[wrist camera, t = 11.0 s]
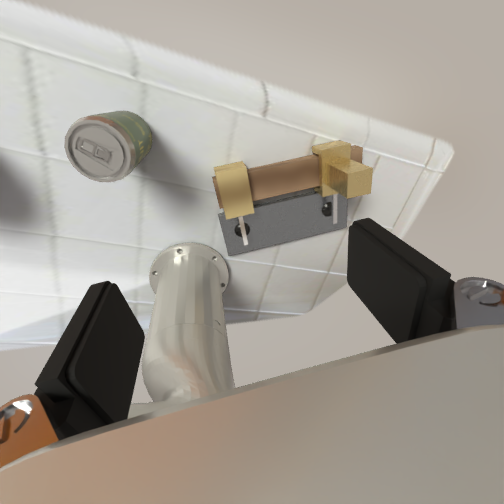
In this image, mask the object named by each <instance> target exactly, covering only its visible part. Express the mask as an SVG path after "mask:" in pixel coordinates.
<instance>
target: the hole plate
mask: <svg viewBox="0 0 504 504" xmlns="http://www.w3.org/2000/svg"><path fill="white" fill-rule="evenodd" d="M253 208H254V213H252V214H248V215H244V216H243V221H244V226H245V231H246V236H247V240H248V245H244V242H243V237H242V233H241V228H240V224H239V219H238V217H235V218H231V219H227V220H226V216H225V212H224V213H220V214H218V216H219V220H220V224H221V228H222V232H223V236H224V240H225V243H226V247H227V251H228V255H229V256H231V255H235V254H239V253H243V252H247V251H251V250H256V249H260V248H264V247H268V246H272V245H276V244H280V243H284V242H288V241H293V240H297V239H301V238H305V237H309V236H313V235H317V234H321V233H325V232H330V231H334V230H338V229H342V228H346V227H347V198H345V197H344V196H342V195H341V194H339V193H338V194H337V223H335V224H333V223H332V195H330V196H325V197H322V196H321V195H319V194H318V193H317V192H311V193H306V194H302V195H298V196H293V197H289V198H285V199H280V200H276V201H272V202H268V203H263V204H259V205H255V206H253Z"/></svg>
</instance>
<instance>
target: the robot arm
mask: <svg viewBox="0 0 504 504" xmlns="http://www.w3.org/2000/svg"><path fill="white" fill-rule="evenodd" d="M179 249H181V250H179ZM214 256H216V257H214ZM450 277H451V274H450V273H449V272H447V271H446V270H444V269H443V268H441V267H440V266H438V265H437V264H436V263H434V262H433V261H431V260H430V259H428V258H427V257H425V256H424V255H422V254H421V253H419V252H418V251H417V250H415V249H414V248H412V247H411V246H409V245H408V244H406V243H405V242H404V241H402V240H401V239H399V238H398V237H396V236H395V235H393V234H392V233H391V232H389V231H388V230H386V229H385V228H383V227H382V226H380V225H379V224H377V223H376V222H375V221H373V220H372V219H370V218H365V219H361V220H357V221H354V222H353V224H352V226H350V227H349V237H348V267H347V281H348V284H349V286H350V287H351V288H352V290H353V291H354V292H355V293H356V295H357V296H358V297H359V298H360V299H361V301H362V302H363V303H364V304H365V306H366V307H367V308H368V309H369V310H370V312H371V313H372V314H373V315H374V316H375V318H376V319H377V320H378V321H379V323H380V324H381V325H382V326H383V328H384V329H385V330H386V331H387V332H388V334H389V335H390V336H391V337H392V339H393V340H394V341H395V342H396V343H397V344H394V345H390V346H386V347H383V348H379V349H375V350H372V351H368V352H364V353H361V354H357V355H353V356H350V357H346V358H342V359H339V360H335V361H331V362H328V363H324V364H320V365H317V366H313V367H309V368H306V369H302V370H299V371H295V372H291V373H288V374H284V375H281V376H277V377H274V378H270V379H267V380H263V381H259V382H256V383H252V384H248V385H245V386H241V387H238V388H235V384H234V379H233V374H232V368H231V362H230V354H229V347H228V340H227V332H226V324H225V316H224V308H223V300H222V293H223V292H224V291H225V289H226V287H227V284H228V279H229V274H228V268H227V264H226V262H225V261H224V259H223V258H222V256H221V255H220V254H219V253H218V252H216V251H215V250H214V249H212V248H210V247H208V246H205V245H202V244H197V243H182V244H177V245H174V246H171V247H169V248H167V249H166V250H164V251H162V252H161V253H160V254H159V255H158V256H157V257H156V259H155V260H154V261H153V264H152V266H151V269H150V274H149V280H150V285H151V287H152V289H153V291H154V293H155V294H156V296H155V301H154V306H153V311H152V315H151V320H150V325H149V330H148V334H147V339H146V344H145V349H144V354H143V359H142V375H143V379H144V384H145V386H146V388H147V390H148V393H149V395H150V397H151V398H152V400H153V402H149V403H134V404H131V400H132V395H133V390H134V386H135V382H136V377H137V372H138V367H139V363H140V358H141V354H142V349H143V344H144V339H145V336H144V332H143V330H142V328H141V326H140V324H139V323H138V321H137V319H136V317H135V316H134V314H133V312H132V310H131V309H130V307H129V305H128V303H127V302H126V300H125V298H124V296H123V295H122V293H121V291H120V290H119V288H118V286H117V285H116V284H115V283H113V284H112V283H111V282H109V281H105V282H101V283H97V284H93V285H91V286H90V287H89V289H88V291H87V293H86V294H85V296H84V298H83V300H82V301H81V303H80V305H79V307H78V308H77V310H76V312H75V314H74V316H73V317H72V319H71V321H70V323H69V324H68V326H67V328H66V330H65V331H64V333H63V335H62V337H61V338H60V340H59V342H58V344H57V345H56V347H55V349H54V351H53V353H52V354H51V356H50V358H49V360H48V362H47V363H46V365H45V367H44V368H43V370H42V372H41V374H40V375H39V377H38V379H37V381H36V383H35V385H36V386H37V387H38V388H37V390H36V392H35V393H34V395H32V394H27V395H22V396H19V397H17V398H15V399H12V400H11V401H9V402H7V403H6V404H4V405H3V406H1V407H0V504H504V285H503V284H501V283H499V282H496V281H493V280H490V279H485V278H479V277H468V278H463V279H460V280H458V281H457V282H456V283H455V282H454V281H453V280H451V279H450Z"/></svg>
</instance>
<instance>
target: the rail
mask: <svg viewBox="0 0 504 504" xmlns="http://www.w3.org/2000/svg"><path fill="white" fill-rule="evenodd" d="M362 152H363V147H359V146H356V145H354V146H351V155H350V159H351V160H354V161H356V162H359V163H361V164H362ZM214 171H215V175H216V176H214V177H212V178H213V183H214V187H215V191H216V195H217V199H218V203H219V207H220V209H221V208H224V212H225V216H226V220H227V219H231V218H235V217H238V219H239V224H240V228H241V233H242V237H243V242H244V245H248V240H247V236H246V231H245V226H244V221H243V216H244V215H248V214H252V213H254V208H253V202H252V201H256V200H260V199H265V198H269V197H273V196H278V195H282V194H286V193H291V192H295V191H299V190H304V189H308V188H312V187H317V186H320V184H319V155H317V154H314V155H309V156H305V157H300V158H296V159H291V160H287V161H282V162H278V163H273V164H269V165H264V166H259V167H255V168H250V169H247V168H246V166H245V164H244V163H243V162H242V161H241V162H236V163H232V164H227V165H223V166H218V167H214Z"/></svg>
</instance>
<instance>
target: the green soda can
mask: <svg viewBox="0 0 504 504" xmlns="http://www.w3.org/2000/svg"><path fill="white" fill-rule="evenodd" d="M151 145H152V134H151V131H150V129H149V126H148V125H147V124H146V122H145V121H144V120H143V119H142V118H141V117H139V116H138V115H137V114H134V113H132V112H129V111H116V112H110V113H103V114H97V115H91V116H87V117H84V118H80V119H78V120H77V121H76V122H75V123H74V124H72V125H71V127H70V128H69V130H68V132H67V134H66V136H65V150H66V154H67V157H68V159H69V160H70V162H71V164H72V165H73V167H75V168H76V169H77V170H78V171H79V172H80V173H81V174H82V175H84V176H86V177H88V178H89V179H92V180H95V181H99V182H114V181H117V180H121V179H123V178H125V177H126V176H127V175H128V174H130V173H131V172H132V170H133V169H134V168H135V167H136V166H137V165H138V164H139V163H140V161H141V160H142V159H143V158H144V157H145V156H146V155H147V154H148V152H149V150H150V149H151Z"/></svg>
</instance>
